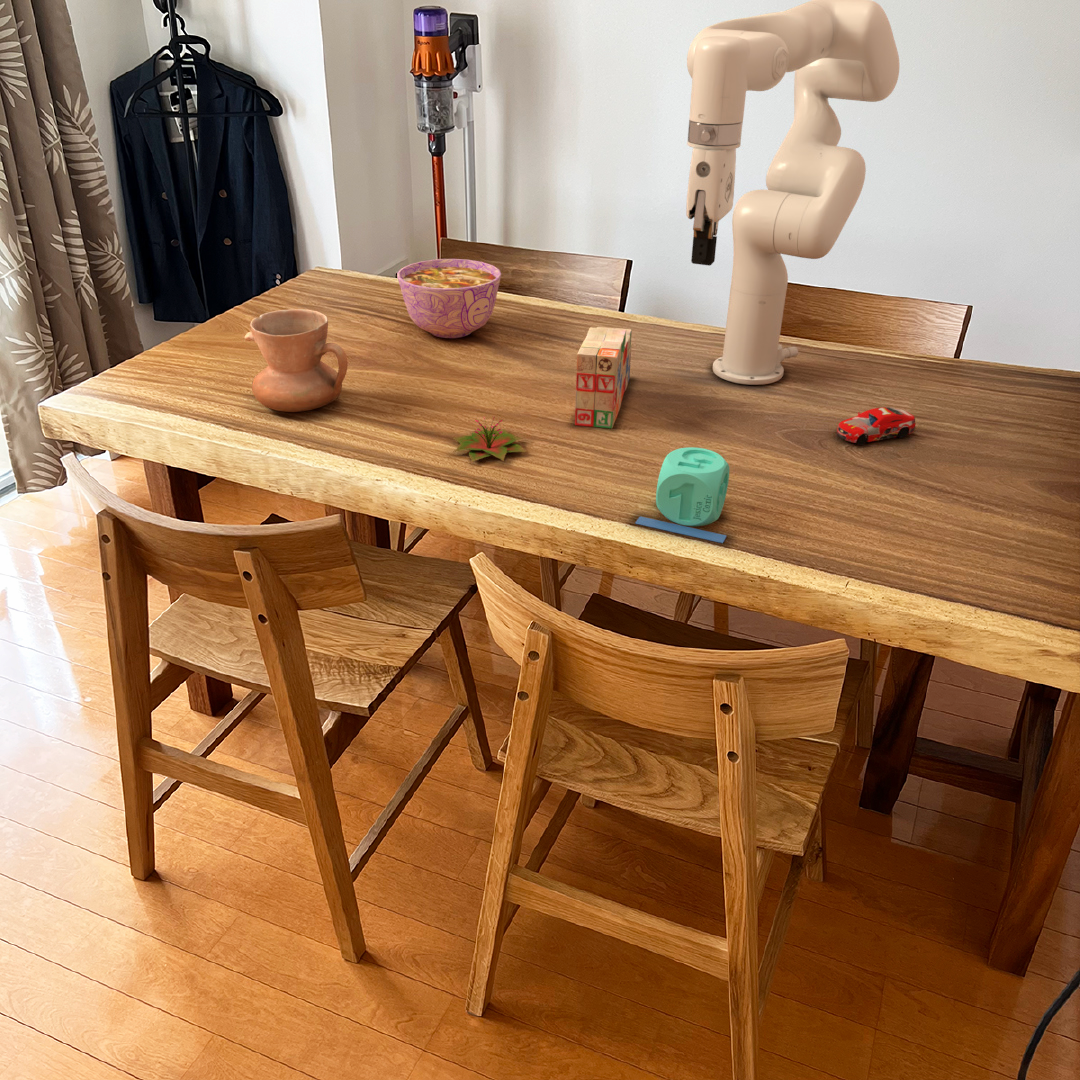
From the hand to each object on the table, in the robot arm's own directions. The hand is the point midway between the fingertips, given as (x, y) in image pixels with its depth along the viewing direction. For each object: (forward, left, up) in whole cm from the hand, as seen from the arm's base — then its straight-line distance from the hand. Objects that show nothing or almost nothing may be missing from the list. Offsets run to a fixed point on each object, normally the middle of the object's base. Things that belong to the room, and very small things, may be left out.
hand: (702, 262), depth 149 cm
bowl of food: (+20, -53, -25) cm, 62 cm away
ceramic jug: (+56, -31, -25) cm, 69 cm away
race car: (-22, +20, -25) cm, 39 cm away
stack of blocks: (+10, -10, -25) cm, 29 cm away
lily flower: (+35, -2, -25) cm, 43 cm away
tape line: (+22, +31, -25) cm, 45 cm away
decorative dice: (+18, +28, -25) cm, 42 cm away
